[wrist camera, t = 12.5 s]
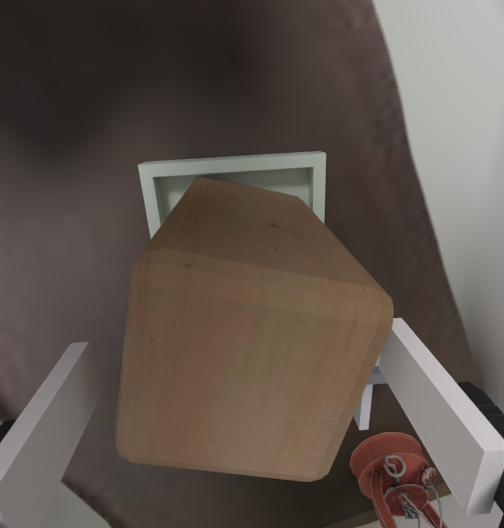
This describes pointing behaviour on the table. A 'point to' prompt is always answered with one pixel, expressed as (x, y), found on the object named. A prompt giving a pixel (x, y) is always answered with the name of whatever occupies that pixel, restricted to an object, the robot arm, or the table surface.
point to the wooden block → (246, 337)
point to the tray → (234, 179)
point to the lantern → (396, 478)
